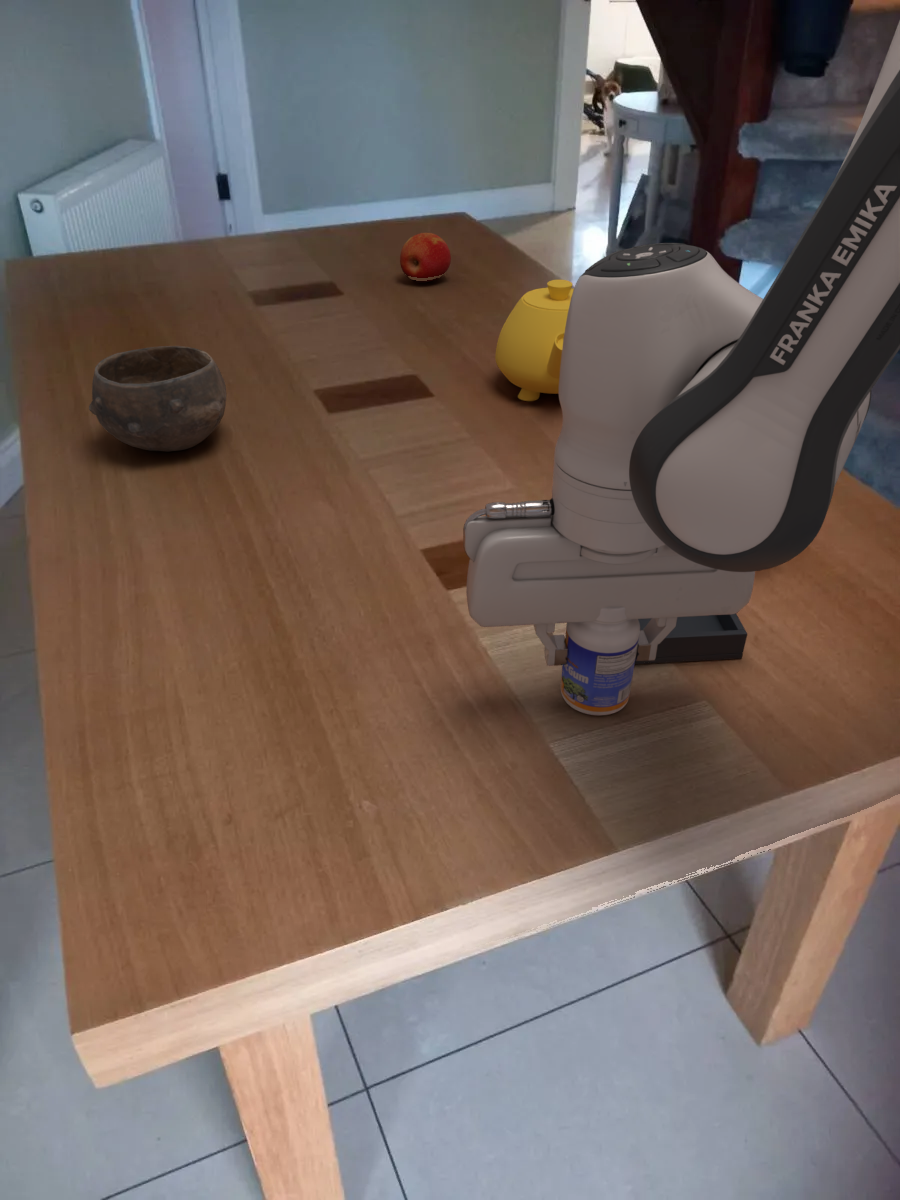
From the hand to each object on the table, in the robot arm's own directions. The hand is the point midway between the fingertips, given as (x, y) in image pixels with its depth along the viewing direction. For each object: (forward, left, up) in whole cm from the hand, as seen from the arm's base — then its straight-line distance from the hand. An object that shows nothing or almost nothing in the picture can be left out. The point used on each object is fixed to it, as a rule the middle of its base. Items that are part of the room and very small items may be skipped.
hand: (599, 658), depth 70 cm
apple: (+7, -110, -4) cm, 110 cm away
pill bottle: (0, 0, -4) cm, 4 cm away
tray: (-8, -17, -4) cm, 19 cm away
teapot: (-7, -59, -4) cm, 60 cm away
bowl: (+41, -48, -4) cm, 63 cm away
